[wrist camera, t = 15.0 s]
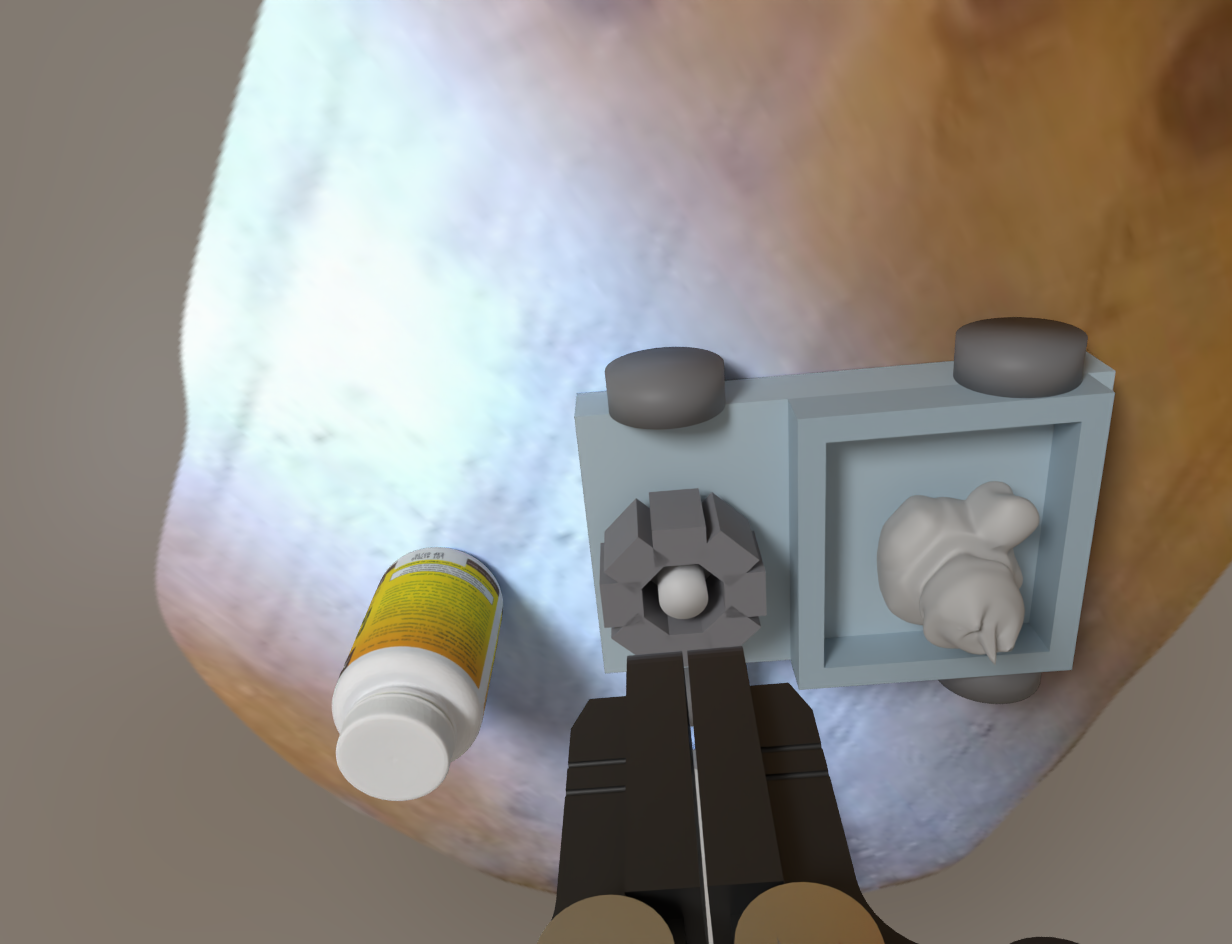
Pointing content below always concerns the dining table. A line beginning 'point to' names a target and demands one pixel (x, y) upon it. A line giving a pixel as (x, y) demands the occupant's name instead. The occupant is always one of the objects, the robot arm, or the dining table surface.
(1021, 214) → the dining table surface
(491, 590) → the supplement bottle
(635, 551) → the spare wheel
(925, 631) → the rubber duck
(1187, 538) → the dining table surface
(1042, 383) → the chassis
